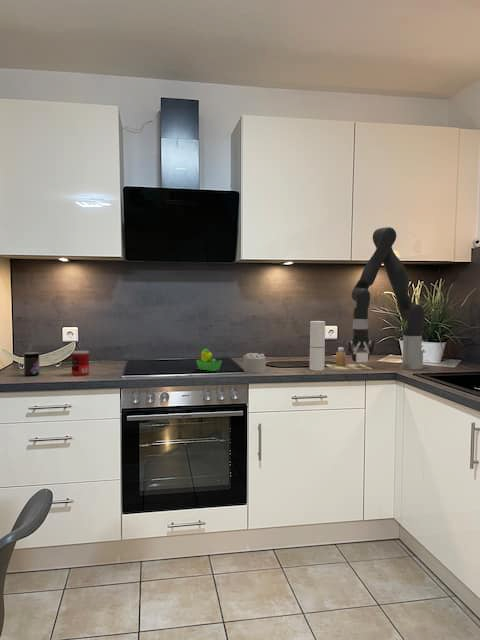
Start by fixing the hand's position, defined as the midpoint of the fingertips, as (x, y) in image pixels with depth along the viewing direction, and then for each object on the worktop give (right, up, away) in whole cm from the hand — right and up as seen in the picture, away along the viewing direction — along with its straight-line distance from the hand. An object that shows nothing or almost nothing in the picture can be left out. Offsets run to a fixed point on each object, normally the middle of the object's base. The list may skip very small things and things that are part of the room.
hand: (360, 361), depth 244 cm
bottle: (-9, -3, +5) cm, 11 cm away
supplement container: (-157, -5, -19) cm, 159 cm away
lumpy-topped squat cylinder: (-53, -5, -3) cm, 54 cm away
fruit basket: (-76, -5, -3) cm, 77 cm away
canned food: (-135, -5, -17) cm, 137 cm away
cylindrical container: (-23, -5, -6) cm, 24 cm away
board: (-6, -5, +3) cm, 8 cm away
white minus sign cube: (0, 0, 0) cm, 0 cm away
